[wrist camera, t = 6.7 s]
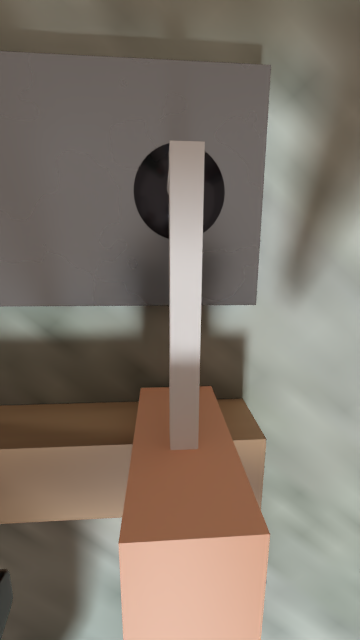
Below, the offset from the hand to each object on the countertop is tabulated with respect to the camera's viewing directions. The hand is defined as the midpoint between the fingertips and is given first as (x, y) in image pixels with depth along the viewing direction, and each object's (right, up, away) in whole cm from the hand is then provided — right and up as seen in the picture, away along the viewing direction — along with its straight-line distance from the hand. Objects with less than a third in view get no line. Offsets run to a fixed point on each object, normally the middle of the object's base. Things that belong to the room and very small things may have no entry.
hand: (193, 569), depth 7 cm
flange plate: (-7, +11, +3) cm, 14 cm away
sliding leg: (-1, +5, +5) cm, 7 cm away
